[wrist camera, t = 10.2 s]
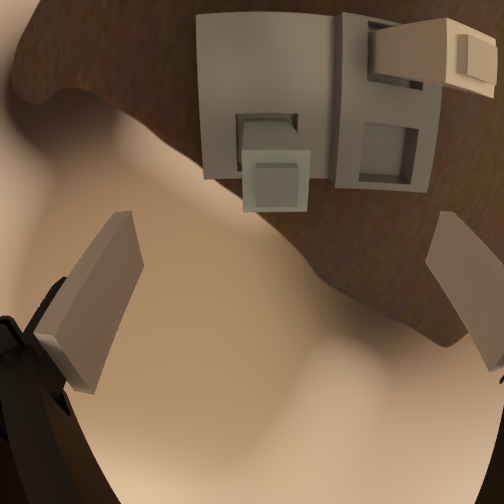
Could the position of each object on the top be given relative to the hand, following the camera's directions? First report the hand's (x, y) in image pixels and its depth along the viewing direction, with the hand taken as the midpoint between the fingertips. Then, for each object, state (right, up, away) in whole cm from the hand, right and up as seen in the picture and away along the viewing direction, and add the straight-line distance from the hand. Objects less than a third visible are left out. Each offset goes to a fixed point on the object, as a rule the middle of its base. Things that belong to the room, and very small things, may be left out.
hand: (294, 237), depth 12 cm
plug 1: (0, +11, +17) cm, 20 cm away
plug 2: (+10, +17, +10) cm, 22 cm away
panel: (+5, +15, +15) cm, 21 cm away
